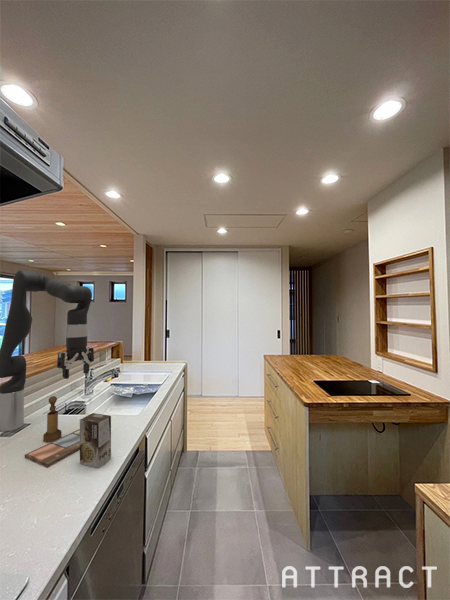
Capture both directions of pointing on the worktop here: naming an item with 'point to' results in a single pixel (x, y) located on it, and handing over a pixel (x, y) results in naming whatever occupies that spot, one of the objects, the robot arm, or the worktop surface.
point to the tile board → (56, 450)
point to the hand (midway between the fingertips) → (76, 375)
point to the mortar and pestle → (52, 423)
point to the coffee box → (95, 440)
